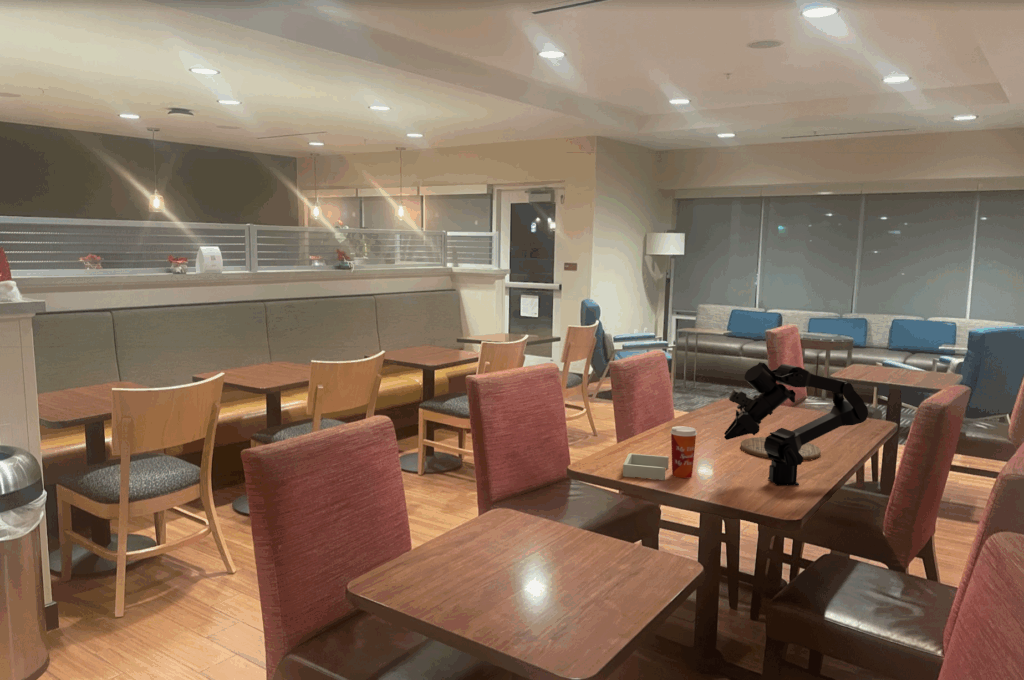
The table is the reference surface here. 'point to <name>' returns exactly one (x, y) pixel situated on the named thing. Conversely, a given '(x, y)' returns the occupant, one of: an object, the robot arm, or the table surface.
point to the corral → (645, 466)
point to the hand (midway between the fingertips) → (725, 436)
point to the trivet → (757, 448)
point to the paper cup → (682, 451)
